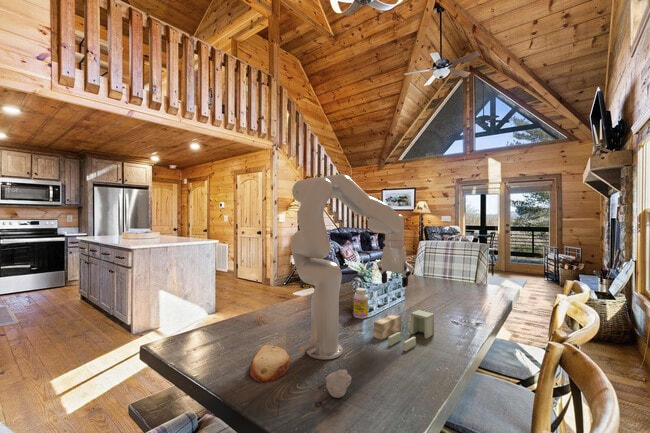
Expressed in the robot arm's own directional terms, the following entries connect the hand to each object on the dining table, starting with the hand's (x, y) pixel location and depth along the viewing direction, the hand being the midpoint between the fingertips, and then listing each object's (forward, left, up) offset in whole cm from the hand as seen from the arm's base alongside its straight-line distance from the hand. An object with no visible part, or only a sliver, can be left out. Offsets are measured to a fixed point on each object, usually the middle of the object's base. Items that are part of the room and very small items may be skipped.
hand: (394, 284), depth 130 cm
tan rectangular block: (-7, -1, -18) cm, 20 cm away
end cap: (+3, -11, -18) cm, 22 cm away
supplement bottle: (+1, +19, -18) cm, 26 cm away
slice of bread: (-56, +11, -19) cm, 60 cm away
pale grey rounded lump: (-53, -16, -18) cm, 58 cm away
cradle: (-13, -11, -18) cm, 25 cm away
